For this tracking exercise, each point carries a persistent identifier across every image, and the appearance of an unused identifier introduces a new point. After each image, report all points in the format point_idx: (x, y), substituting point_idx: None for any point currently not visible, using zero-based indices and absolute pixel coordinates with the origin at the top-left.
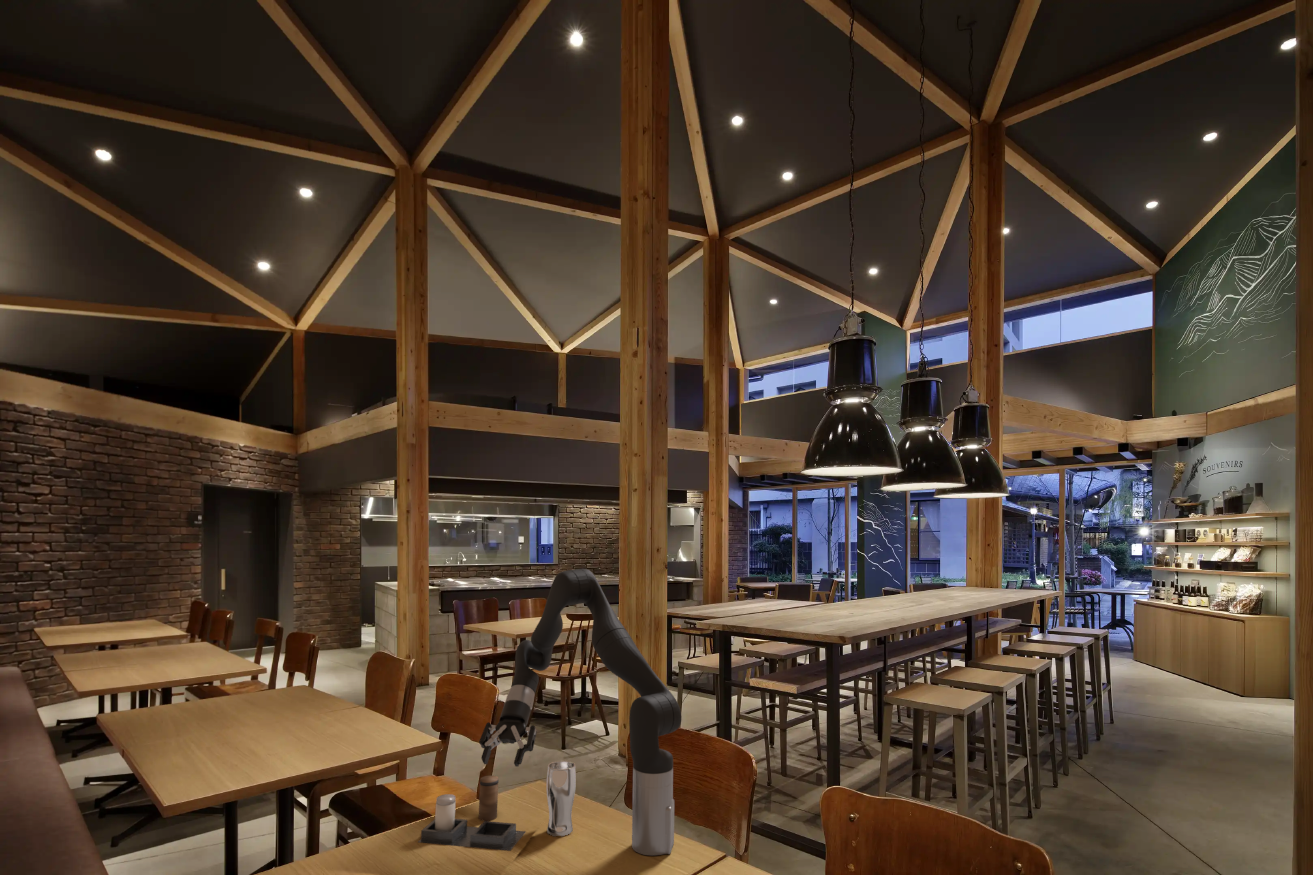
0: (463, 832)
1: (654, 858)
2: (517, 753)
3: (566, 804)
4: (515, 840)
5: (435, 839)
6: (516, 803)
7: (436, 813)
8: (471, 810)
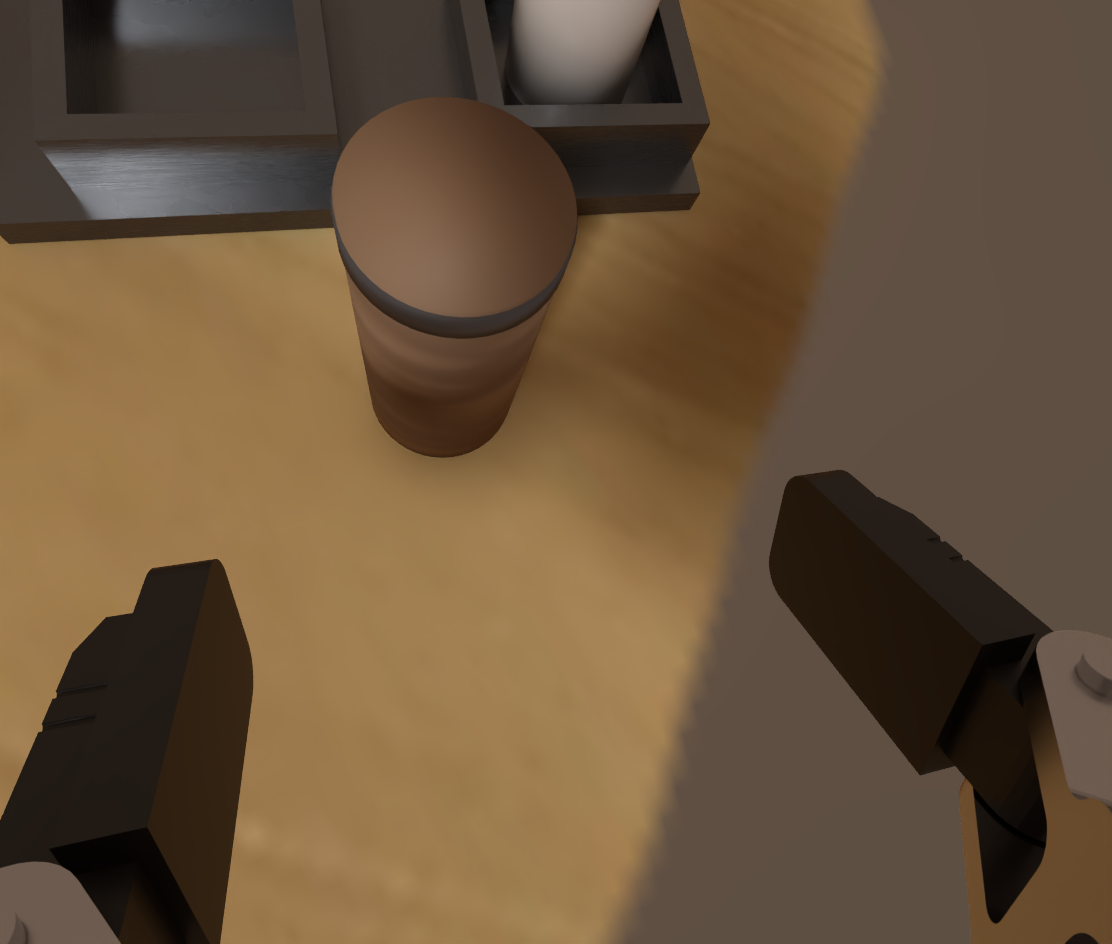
0: None
1: None
2: (149, 714)
3: None
4: (14, 75)
5: None
6: (400, 813)
7: None
8: (671, 528)
